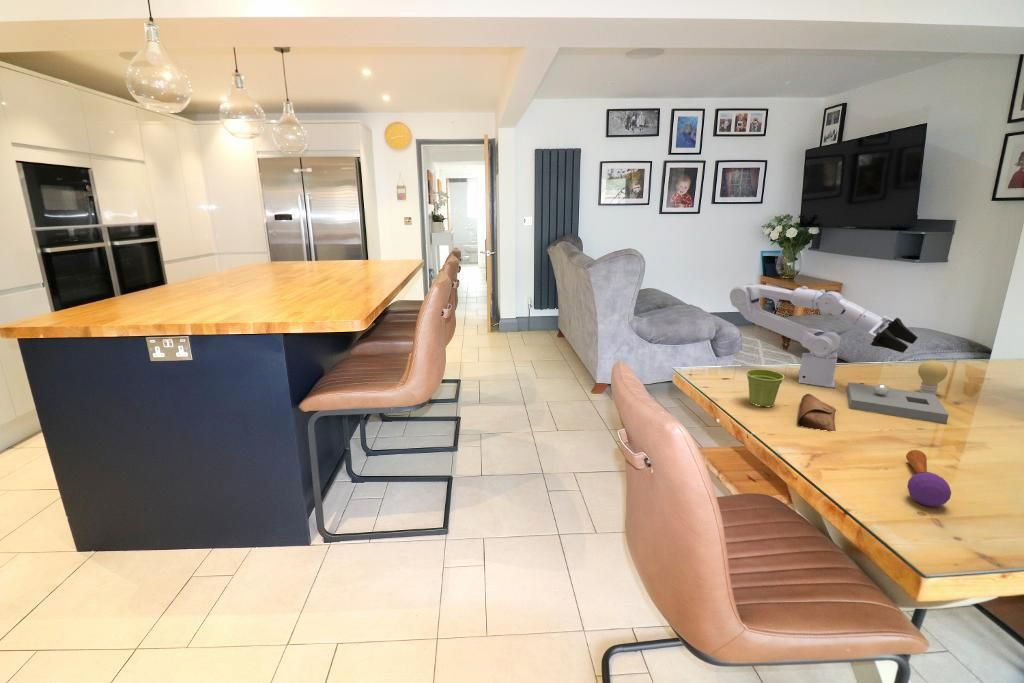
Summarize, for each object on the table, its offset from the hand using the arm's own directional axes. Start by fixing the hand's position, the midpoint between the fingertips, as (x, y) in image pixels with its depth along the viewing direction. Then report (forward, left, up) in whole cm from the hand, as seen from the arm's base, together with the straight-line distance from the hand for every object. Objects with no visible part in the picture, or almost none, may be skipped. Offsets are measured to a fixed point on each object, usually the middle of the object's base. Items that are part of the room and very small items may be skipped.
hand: (910, 345), depth 132 cm
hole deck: (-2, -6, -16) cm, 17 cm away
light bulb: (+8, +10, -16) cm, 21 cm away
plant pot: (-33, -22, -16) cm, 43 cm away
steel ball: (-5, -6, -12) cm, 14 cm away
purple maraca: (-3, -53, -17) cm, 55 cm away
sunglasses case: (-20, -25, -17) cm, 36 cm away
